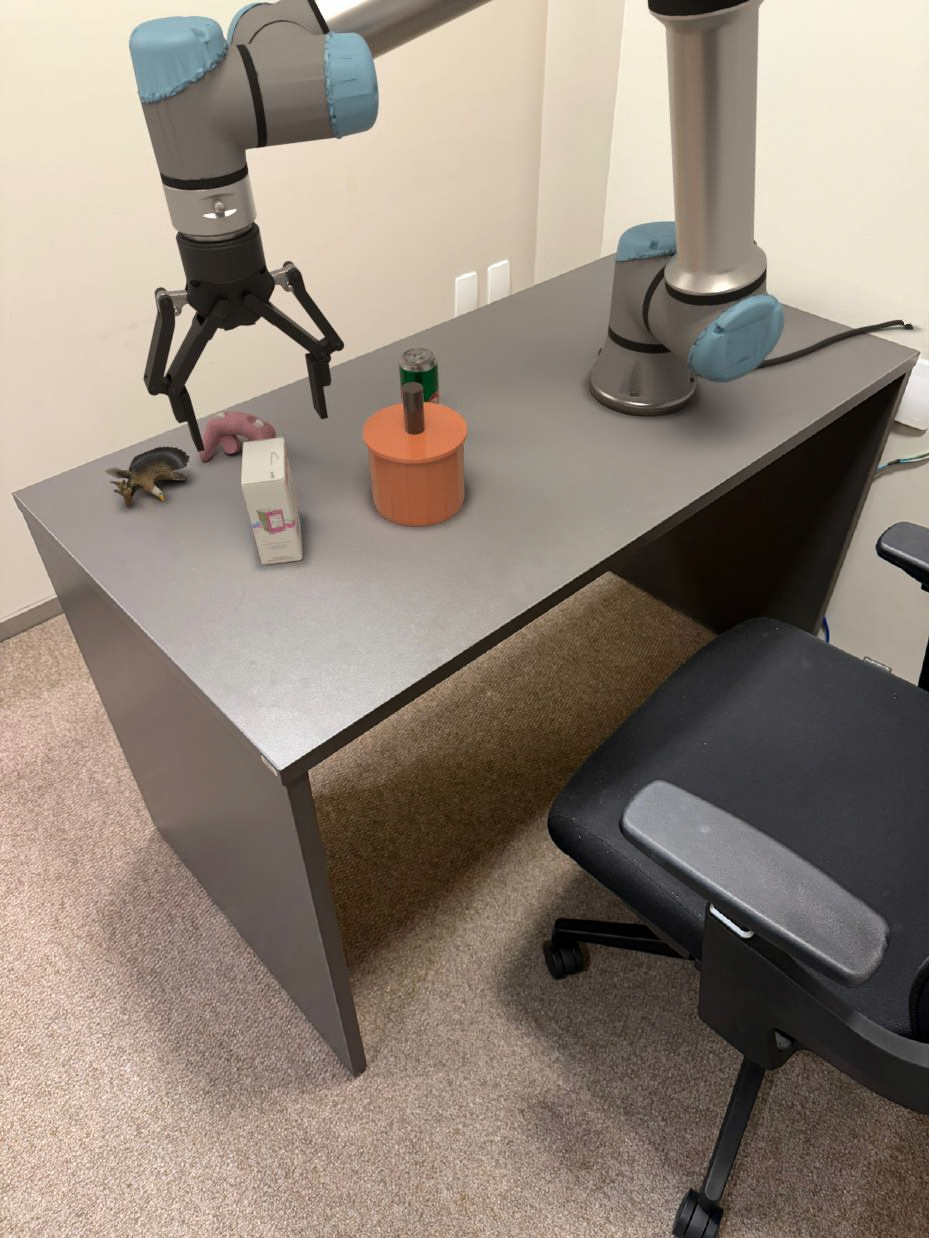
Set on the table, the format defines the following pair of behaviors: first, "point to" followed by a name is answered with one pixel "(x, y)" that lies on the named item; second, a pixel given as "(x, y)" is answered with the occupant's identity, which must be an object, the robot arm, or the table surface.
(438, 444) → the pot lid
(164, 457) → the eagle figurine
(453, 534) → the table surface
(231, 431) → the video game controller
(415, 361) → the soda can
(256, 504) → the ink box
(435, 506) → the pot
